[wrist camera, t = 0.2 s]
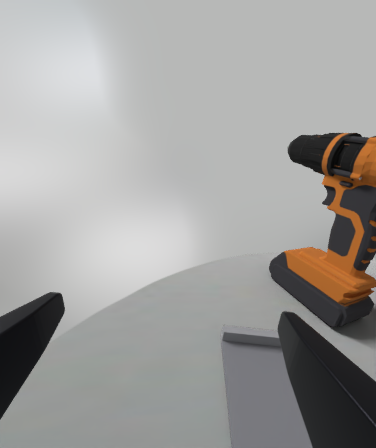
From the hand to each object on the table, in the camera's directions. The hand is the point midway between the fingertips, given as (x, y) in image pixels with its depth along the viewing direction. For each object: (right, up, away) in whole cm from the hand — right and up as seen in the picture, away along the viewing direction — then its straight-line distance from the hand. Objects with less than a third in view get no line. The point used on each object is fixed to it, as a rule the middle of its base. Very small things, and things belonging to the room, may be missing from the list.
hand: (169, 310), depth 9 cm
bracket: (+10, -14, +13) cm, 21 cm away
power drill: (+20, -8, +29) cm, 36 cm away
